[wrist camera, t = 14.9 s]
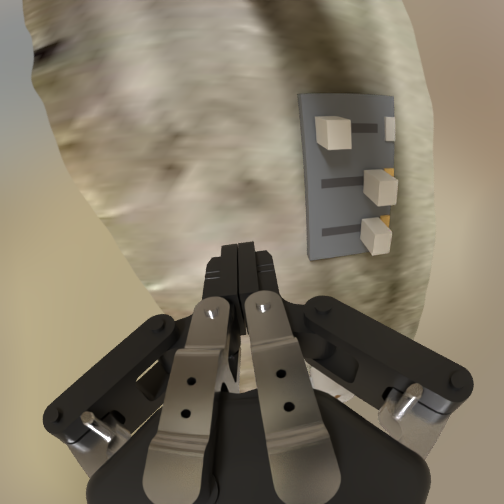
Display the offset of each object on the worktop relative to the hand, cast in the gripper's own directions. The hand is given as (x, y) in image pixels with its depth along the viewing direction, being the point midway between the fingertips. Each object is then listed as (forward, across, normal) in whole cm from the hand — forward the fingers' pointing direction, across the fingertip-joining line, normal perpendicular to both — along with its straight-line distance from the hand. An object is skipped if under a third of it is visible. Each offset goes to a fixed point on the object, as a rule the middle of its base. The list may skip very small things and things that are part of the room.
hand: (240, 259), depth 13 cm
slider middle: (+25, -19, +6) cm, 32 cm away
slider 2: (+25, -19, +14) cm, 34 cm away
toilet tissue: (+27, -15, +57) cm, 65 cm away
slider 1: (+25, -12, -2) cm, 27 cm away
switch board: (+27, -16, +6) cm, 32 cm away
